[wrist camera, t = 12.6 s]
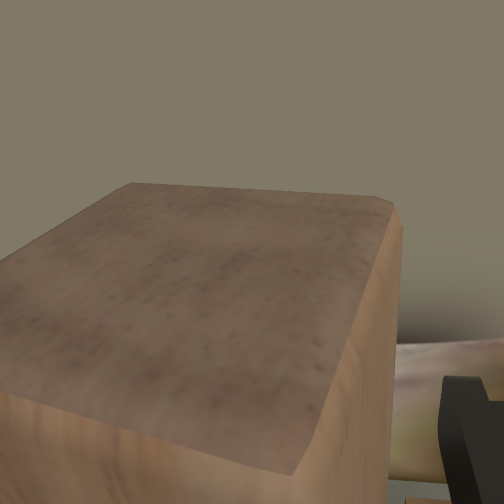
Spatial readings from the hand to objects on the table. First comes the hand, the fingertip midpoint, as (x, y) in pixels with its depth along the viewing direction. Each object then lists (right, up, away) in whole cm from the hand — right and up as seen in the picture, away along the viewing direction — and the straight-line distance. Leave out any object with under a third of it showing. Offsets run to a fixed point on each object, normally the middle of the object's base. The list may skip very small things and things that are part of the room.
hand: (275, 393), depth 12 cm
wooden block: (+1, -11, +4) cm, 12 cm away
